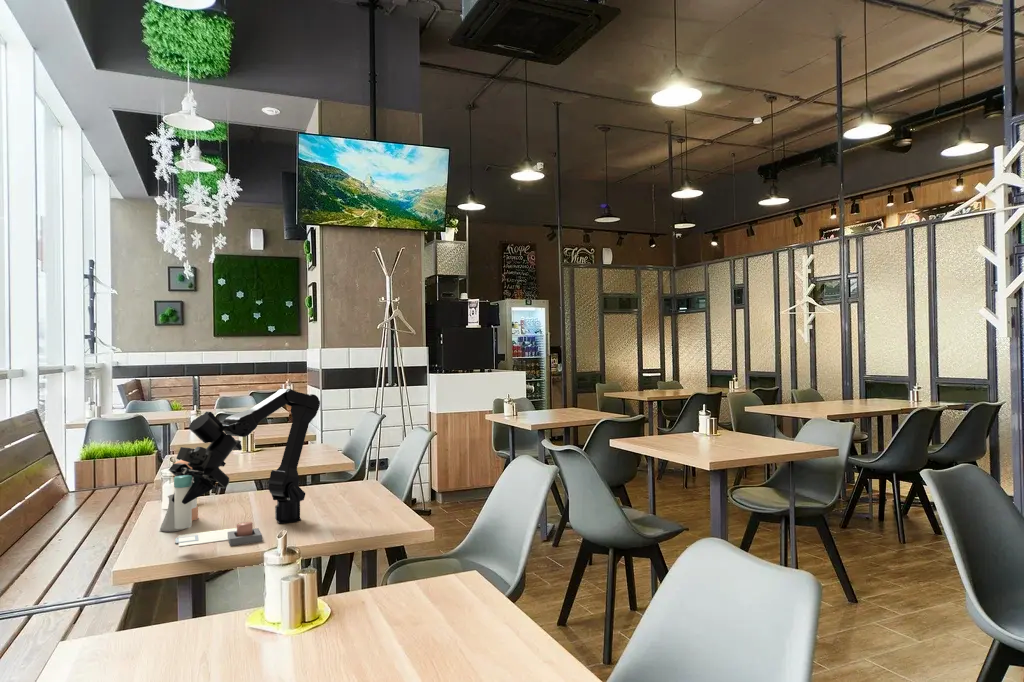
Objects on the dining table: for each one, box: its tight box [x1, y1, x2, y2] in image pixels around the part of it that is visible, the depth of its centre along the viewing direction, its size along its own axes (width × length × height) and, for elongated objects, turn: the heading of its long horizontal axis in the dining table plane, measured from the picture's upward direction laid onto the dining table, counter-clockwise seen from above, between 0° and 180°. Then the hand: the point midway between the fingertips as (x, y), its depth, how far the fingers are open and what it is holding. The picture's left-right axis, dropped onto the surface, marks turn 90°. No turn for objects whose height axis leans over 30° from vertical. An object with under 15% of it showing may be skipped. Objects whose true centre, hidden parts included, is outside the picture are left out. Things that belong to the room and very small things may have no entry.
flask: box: [159, 493, 187, 532], centre depth 190 cm, size 7×7×10 cm
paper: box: [174, 527, 237, 548], centre depth 181 cm, size 17×12×1 cm
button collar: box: [227, 527, 263, 547], centre depth 178 cm, size 8×8×2 cm
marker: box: [173, 475, 193, 530], centre depth 169 cm, size 4×4×13 cm
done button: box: [236, 521, 254, 537], centre depth 178 cm, size 4×4×3 cm
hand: (178, 502), depth 168 cm, fingers closed on marker, 4 cm apart
